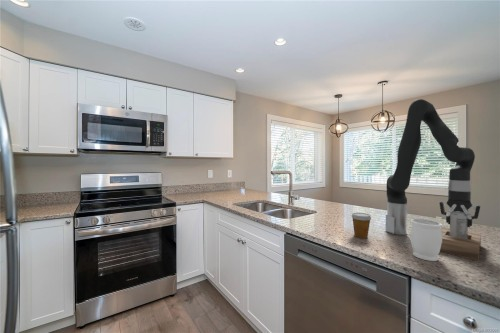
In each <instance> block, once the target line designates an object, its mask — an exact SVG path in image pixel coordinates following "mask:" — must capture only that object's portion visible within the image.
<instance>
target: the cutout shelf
mask: <svg viewBox="0 0 500 333" xmlns="http://www.w3.org/2000/svg"><path fill="white" fill-rule="evenodd" d="M441 232H442V244H441V248H440V252H439V253H445V254H449V255H454V256H458V257H462V258H467V259H469V260H473V261H480V249H481V246H482V244H481V243H482V241H481V239H482V238H481V237H482V234H481V233H479V232H475V231H474V232H473V231H469V230H468V239H463V238H458V237H453V236H450V227H444V226H442V227H441Z"/></svg>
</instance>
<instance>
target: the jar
mask: <svg viewBox="0 0 500 333" xmlns="http://www.w3.org/2000/svg"><path fill="white" fill-rule="evenodd" d="M410 223H411V226H410V231H409V235H410V242H411V243H410V244H411V247H412V249H413V252H412V255H413V256H414V257H416V258H418V259H419V260H420V259H421V260H425V261H428V262H436V261H439V257H438V255H439V254H440V253H441V252H440V248H441V244H442V232H441V228H442V227H443V224H442V223H441V222H438V221H434V220H428V219H424V218H412V219H410Z"/></svg>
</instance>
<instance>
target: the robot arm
mask: <svg viewBox="0 0 500 333" xmlns="http://www.w3.org/2000/svg"><path fill="white" fill-rule="evenodd" d="M422 122H423V123H424V124H425V125H426V126H427V128H429V130H430V133H431V135H432V137H433V138H434V140H435V141H436V142H437V143H438V145H439V146H440V147H441V151H442V153H443V155H444V158H445V159H446V160H448V161H449V162H451V163H455V165H454V166H453V167H451V168H450V169H449V171H448V172H449V173H448V174H449V176H448V178H449V180H448V184H447V185H448V187H447V189H448V192H447V197H448V199H447V201H440V202H439V208H440V214H441V215H443V216H445V223H446V224H447V225H450V214H451V213H452V211H460V212H465V214H466V215H467V217H468V228H470V227H472V226H473V220H475V219H476V220H477V219H479V214H480V210H481V205H478V204H472V201H471V198H472V197H471V195H472V194H471V193H472V191H471V190H472V185H471V184H472V183H471V171H472V169H473V166H474V162H475V158H476V155H475V151H474V150H473V149H472V148H470V147H460V146H459V145H458V143H459V138H458V136H457V135H456V134H455V133H454V132H453V130H451V129H450V128H449V126H447V124H446V123H445V122H444V121H443V120H442V118H441V116H440V115H439V114H438V111H437V109H436V108H435V106H434V104H433V103H431V102H429V101H427V100H426V99H423V98H419V99H415V100H414V101H413V102H412V103H410V105H409V108H408V109H407V115H406V120H405V126H404V130H403V132H402V136H401V140H400V143H399V145H398V149H397V154H396V156H397V157H396V158H397V164H396V166H395V167H396V169H395V171H394V173H393V174H392V175H390V176H388V178H387V179H386V199H387V205H386V206H387V210H386V211H387V212H386V214H385V232H387V233H390V234H392V235H398V236H399V235H400V236H402V235H403V236H405V235H407V226H408V225H407V222H408V221H407V218H408V217H407V215H408V198H407V196H406V190H407V189H408V188H409V186H410V183H411V176H412V172H413V167H414V165H415V162H416V159H417V157H418V153H419V151H420V147H421V144H422V132H421V125H422ZM446 206H448V207H449V208H450V209H449V210H448V211H447V212H446V210H445V207H446ZM471 208H472V209H473V210H474V215H471V213H470V211H469V210H470V209H471Z"/></svg>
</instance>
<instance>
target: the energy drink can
mask: <svg viewBox="0 0 500 333" xmlns="http://www.w3.org/2000/svg"><path fill="white" fill-rule="evenodd" d="M449 228H450V236H453V237H458V238H463V239H468V231H469V227H468V217H467V215H466V214H465V212H460V211H452V213H451V214H450V224H449Z"/></svg>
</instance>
